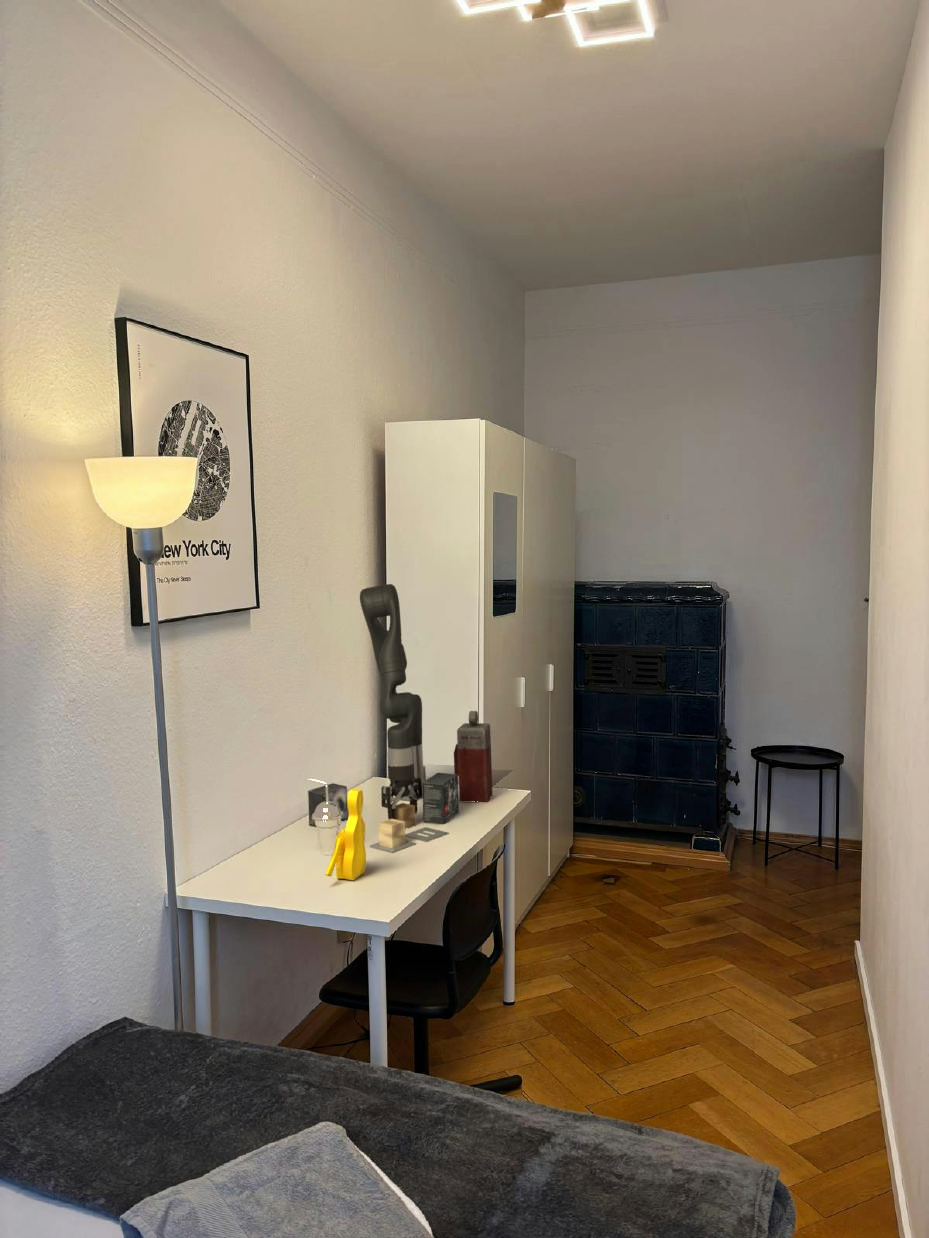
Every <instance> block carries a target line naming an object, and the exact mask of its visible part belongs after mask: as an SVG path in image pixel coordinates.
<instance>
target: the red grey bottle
mask: <svg viewBox="0 0 929 1238" xmlns="http://www.w3.org/2000/svg"><path fill="white" fill-rule="evenodd" d="M491 734H492V733H491V725H490V723H481V722H480V723H479V713H478V711H477V710H469V712H468V722H466V723H465V722H464V723H463V724H462V725H461V726H459V728H457V730H456V740H457V742H456V744H455V746H454V747H455V748H454V750H453V767H454V770H453V771H454V772H453V774H458V801H459V802H460V801H475V802H474V803H479V802H487V803H489V801H490V800H489V799H491V798H492V797H493V795H492V794H493V768H492V765H493V764H492V745H491V744H492V743H491V742H492V741H491V739H492V738H491ZM491 796H492V797H491ZM490 797H491V798H490ZM477 801H478V802H477Z"/></svg>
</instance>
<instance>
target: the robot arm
mask: <svg viewBox="0 0 929 1238" xmlns="http://www.w3.org/2000/svg"><path fill="white" fill-rule="evenodd" d="M359 602H360V607H361V610H362V614H363V617H364V620H365V622H366V626H367V629H368V632H369V636H370V639H371V644H372V649H373V654H374V658H375V662H376V666H377V670H378V673H379V677H380V680H381V693H380V701H379V712H380V715H382V716H383V718H385V719H387V720H388V719H389V721H390V722H392V723H393V724H394V723H395V724H394V725H392V726H390V727H388V729H387V731H386V734H387V735H386V736H387V737H386V738H387V752H386V753H387V754H386V757H387V778H388V780H389V785H388V786H386V785H382V786H381V790H380V791H381V807H382V808H386V809H387V820H390V819H395V820H396V809H395V806H396V805H398V803H399V802H400V800H401V801H409V804H410V805H414V806H415V815H417V814H418V801H419V799H423V787H422V783H423V782H424V781H426V780H427V775H426V774H427V773H426V772H427V771H426V770H427V769H426V766H425V765H424V755H423V752H424V751H423V701H422V698H421V696H420V695H419V694H414V693H412V692H407V691H406V692H397V688H398V687H399V686H401V685H404V684H405V683H406V681H407V675H406V674H407V673H406V669H407V667H408V660H407V655H406V651H405V648H404V645H403V642H402V623H401V619H402V618H401V609H400V599H399V595H398V591H397V588H396V586H394V584H393V583H387V584H383V585H382V584H381V585H376V586H369V587H365V588H363V589H361V591H360V593H359ZM383 617H389V628H388V629H386V627H384V625H382V623H381V622H380V620H379V619H378V618H383Z"/></svg>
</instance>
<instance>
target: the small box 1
mask: <svg viewBox="0 0 929 1238" xmlns="http://www.w3.org/2000/svg"><path fill="white" fill-rule="evenodd" d="M307 795H308V796H307V797H308V825H309V826H311V827H315V828H316V825H315V820H313V819H312V814H313V813H315V809H316V807H317V806H318V805H319V804H320V803H322V802H324V801H326V788H325V785H321V786H319V787H316V788H313V789H309V790H307ZM328 795H329V801H331V802H334V803H336V804H337V805H338V806H339V808H340V811H342V812H343V815H344V816H343V817H342V818H341V821H343V822H345V820H346V821H348V818H349V811H348V805H347V801H348V786H347V785H343V784H337V783H333V782H332V783H329V784H328Z"/></svg>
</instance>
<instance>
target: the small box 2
mask: <svg viewBox="0 0 929 1238" xmlns="http://www.w3.org/2000/svg"><path fill="white" fill-rule="evenodd" d="M422 787H423V797H422V823H426V824H427V823H428V824H437V823H438V824H440V825H445V824H446V823H448V822H449V821H450V820H451V819H452V818H453V817H455V816H456V815H455V814H458V813H459V812H460V811H459V776H458V774H454V773H447V772H446V773H445V772H437V773H435V774H434V775H432V776H431V777H429V778H428V779H427V778H426V781H424V782H423V783H422ZM450 818H451V819H450ZM449 819H450V820H449Z"/></svg>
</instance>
